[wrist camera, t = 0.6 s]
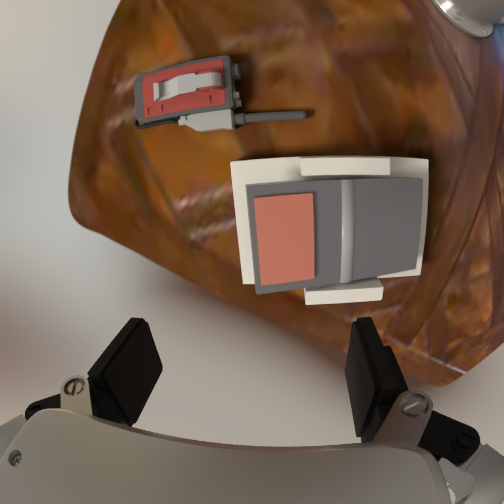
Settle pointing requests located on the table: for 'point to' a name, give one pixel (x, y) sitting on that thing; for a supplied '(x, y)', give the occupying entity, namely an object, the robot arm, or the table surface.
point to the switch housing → (323, 169)
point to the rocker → (332, 230)
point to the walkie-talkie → (196, 97)
